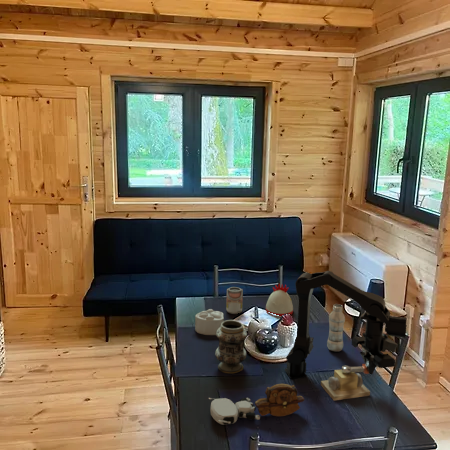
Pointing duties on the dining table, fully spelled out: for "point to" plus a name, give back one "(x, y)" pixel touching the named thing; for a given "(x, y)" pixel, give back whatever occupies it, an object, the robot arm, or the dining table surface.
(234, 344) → the apothecary jar
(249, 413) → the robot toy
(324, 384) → the valve board
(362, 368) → the lever
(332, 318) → the plastic bottle
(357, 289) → the robot arm
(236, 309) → the beige cylinder
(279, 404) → the wooden carving
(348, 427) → the dining table surface
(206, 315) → the lumpy-topped squat cylinder
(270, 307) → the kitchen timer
